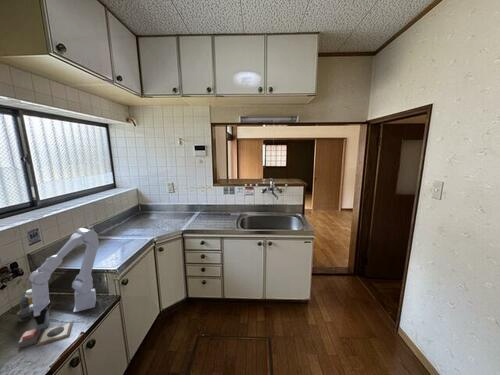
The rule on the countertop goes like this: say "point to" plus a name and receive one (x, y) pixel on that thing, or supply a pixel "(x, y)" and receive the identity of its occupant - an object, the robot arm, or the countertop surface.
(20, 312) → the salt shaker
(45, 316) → the grey rectangular block
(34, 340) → the button housing
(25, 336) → the button
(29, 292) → the supplement bottle
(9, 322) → the countertop surface
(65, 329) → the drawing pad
